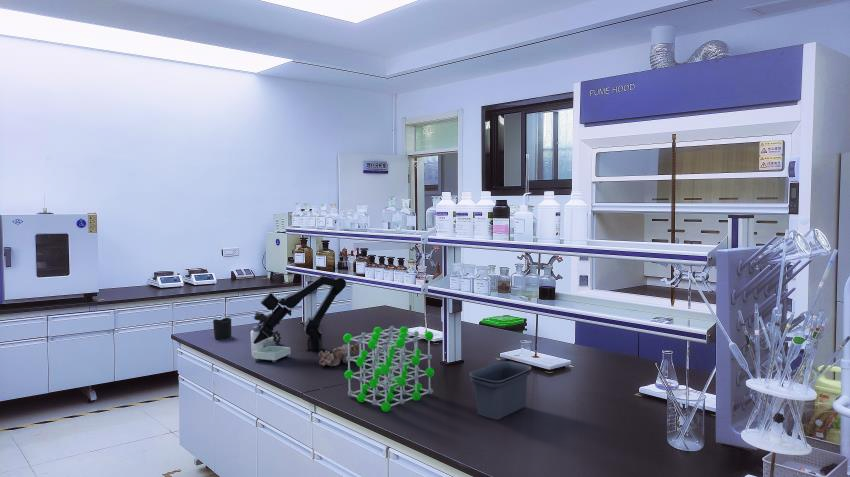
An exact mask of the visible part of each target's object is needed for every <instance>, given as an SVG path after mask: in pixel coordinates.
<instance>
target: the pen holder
mask: <svg viewBox="0 0 850 477" xmlns="http://www.w3.org/2000/svg"><path fill="white" fill-rule="evenodd" d="M212 324H213V333H214V339H215V340H226V339H229V338H232V318H231V317H223V318H222V319H213V320H212Z"/></svg>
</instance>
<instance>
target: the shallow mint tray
mask: <svg viewBox="0 0 850 477" xmlns="http://www.w3.org/2000/svg"><path fill="white" fill-rule="evenodd" d="M291 354H292V353H291V347H289V346H278V345H268V346H265V347H264V348H262V349H259V350H257V351H254V352H253V357H252V358H253V359H254V361H255V362H258V361H260V360H267V361H272V363H273V364H276V363H277V361H278V360H279V359H281V358H284V357H285V358H289V357H290V355H291Z"/></svg>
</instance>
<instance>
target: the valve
mask: <svg viewBox="0 0 850 477" xmlns="http://www.w3.org/2000/svg"><path fill="white" fill-rule="evenodd" d="M281 339H282V337H281V333H280V332H279V331H278V330H276V331H275V330H274V331H273V336H272V337H271V338H270V337H269V338H267V339H265V340H262V344H263V348H265V347H266V346H265V344H267V343H269V342H271V341H273V342H275V344H280V343H281Z"/></svg>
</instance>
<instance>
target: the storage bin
mask: <svg viewBox="0 0 850 477" xmlns="http://www.w3.org/2000/svg"><path fill="white" fill-rule="evenodd" d="M531 369H533V368H532V366H531V365H528V364H523V363H520V362H515V361H508V360H507V361H505V360H504V361H499V362H496V363H494V364H490V365H487V366H485V367H482V368H479V369H476V370H473V371H471V372H469V376H470V382H472V383H473V384H474V390H475V391H474V393H475V400H476V409H477V410H476V411H477V414H478V415H480V416H481V417H486V418H489V419H491V420H495V421H497V420H500V419H503V418H505V417H507V416H509V415H510V414H513V413H515V412H517V411H520V410H521V409H523V408H526V405H527V404H526V403H527V386H528V376H530V375H531V374H532V371H531Z"/></svg>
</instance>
